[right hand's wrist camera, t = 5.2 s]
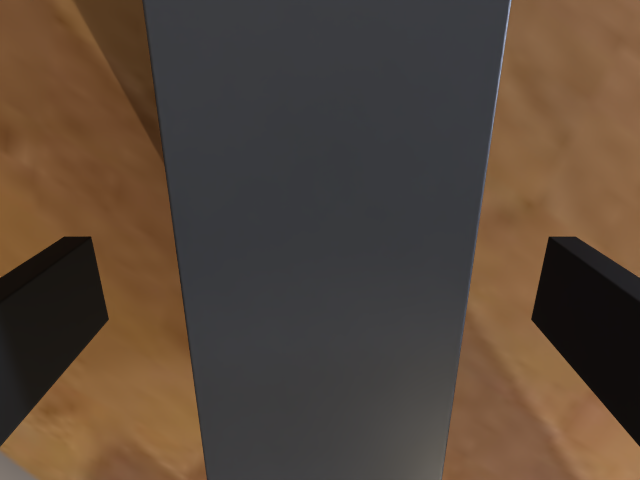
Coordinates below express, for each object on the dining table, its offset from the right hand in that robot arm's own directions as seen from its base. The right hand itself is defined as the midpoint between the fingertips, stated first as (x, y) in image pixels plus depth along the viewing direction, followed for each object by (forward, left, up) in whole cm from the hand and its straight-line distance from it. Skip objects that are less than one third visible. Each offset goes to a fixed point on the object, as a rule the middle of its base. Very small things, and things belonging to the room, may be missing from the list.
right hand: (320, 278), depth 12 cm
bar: (-8, -23, -3) cm, 25 cm away
